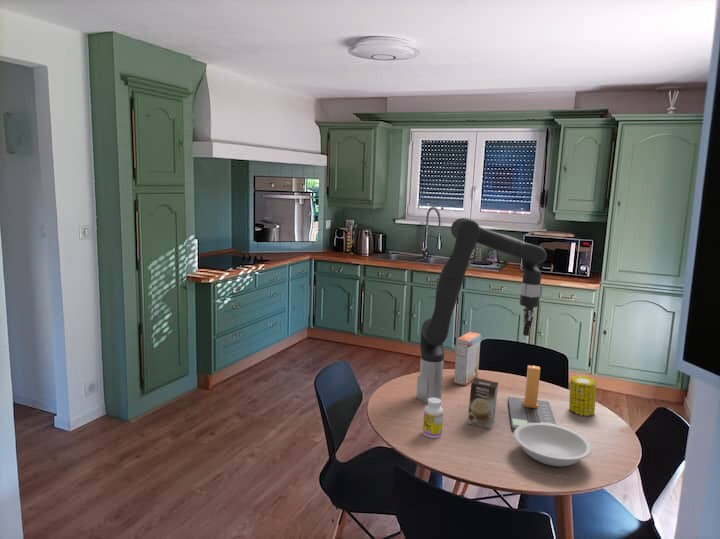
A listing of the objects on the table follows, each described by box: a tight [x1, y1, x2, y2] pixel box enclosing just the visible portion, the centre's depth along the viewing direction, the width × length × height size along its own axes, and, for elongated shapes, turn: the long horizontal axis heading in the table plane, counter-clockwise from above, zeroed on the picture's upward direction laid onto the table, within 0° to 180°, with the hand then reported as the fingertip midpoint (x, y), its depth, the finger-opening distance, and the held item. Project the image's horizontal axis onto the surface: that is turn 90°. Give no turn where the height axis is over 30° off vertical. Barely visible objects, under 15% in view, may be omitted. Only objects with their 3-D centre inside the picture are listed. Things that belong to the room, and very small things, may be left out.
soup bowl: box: [513, 423, 593, 467], centre depth 170 cm, size 24×24×7 cm
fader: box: [522, 364, 541, 408], centre depth 205 cm, size 4×6×16 cm
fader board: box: [507, 396, 557, 433], centre depth 200 cm, size 28×16×4 cm, turn 168°
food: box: [568, 374, 597, 417], centre depth 206 cm, size 15×12×10 cm
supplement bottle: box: [422, 398, 444, 439], centre depth 182 cm, size 7×7×13 cm
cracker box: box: [453, 331, 482, 386], centre depth 233 cm, size 14×6×21 cm, turn 144°
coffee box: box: [467, 377, 499, 430], centre depth 192 cm, size 9×6×16 cm
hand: (525, 335), depth 215 cm, fingers closed
